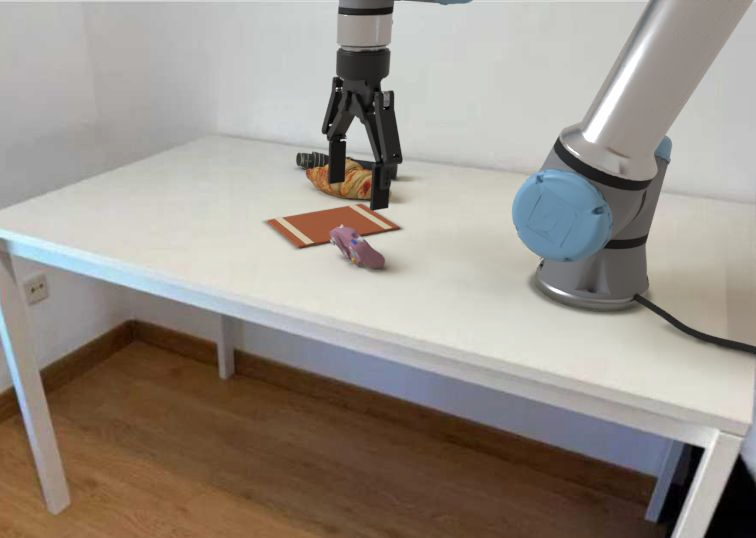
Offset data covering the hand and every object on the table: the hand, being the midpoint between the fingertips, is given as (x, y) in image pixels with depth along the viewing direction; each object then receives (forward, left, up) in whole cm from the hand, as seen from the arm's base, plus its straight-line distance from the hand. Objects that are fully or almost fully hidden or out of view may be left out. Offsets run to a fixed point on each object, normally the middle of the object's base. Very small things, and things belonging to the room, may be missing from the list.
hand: (356, 195), depth 106 cm
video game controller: (0, 0, -11) cm, 11 cm away
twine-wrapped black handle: (+43, -21, -11) cm, 49 cm away
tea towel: (+16, -4, -11) cm, 20 cm away
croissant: (+31, -15, -11) cm, 36 cm away
